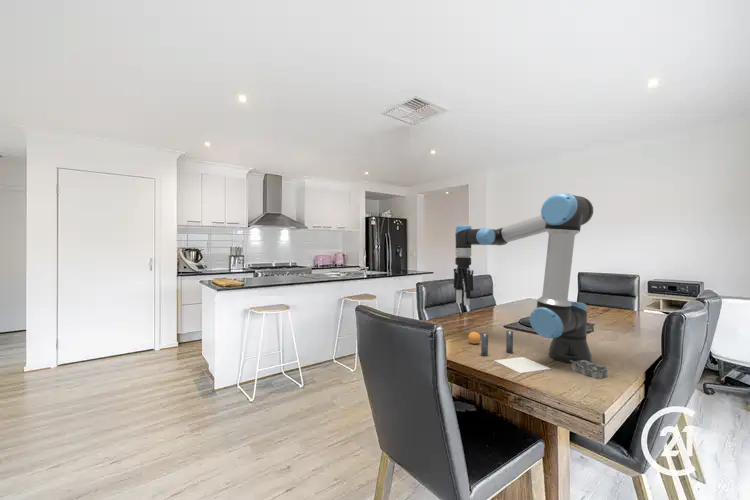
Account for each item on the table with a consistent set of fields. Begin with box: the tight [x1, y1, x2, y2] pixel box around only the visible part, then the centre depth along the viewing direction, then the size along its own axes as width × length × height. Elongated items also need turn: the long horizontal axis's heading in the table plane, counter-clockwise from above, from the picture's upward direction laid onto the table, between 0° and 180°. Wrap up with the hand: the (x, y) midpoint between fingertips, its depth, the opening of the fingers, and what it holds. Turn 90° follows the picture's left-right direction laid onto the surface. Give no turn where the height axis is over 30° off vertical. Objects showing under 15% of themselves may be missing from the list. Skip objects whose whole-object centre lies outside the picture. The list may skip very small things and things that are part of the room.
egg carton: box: [570, 360, 609, 380], centre depth 121 cm, size 11×8×4 cm
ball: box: [467, 331, 481, 345], centre depth 157 cm, size 6×6×6 cm
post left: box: [480, 332, 489, 357], centre depth 140 cm, size 3×3×9 cm
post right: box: [505, 330, 514, 354], centre depth 144 cm, size 3×3×9 cm
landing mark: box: [493, 356, 552, 374], centre depth 129 cm, size 14×14×1 cm
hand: (462, 304), depth 166 cm, fingers open, 6 cm apart
